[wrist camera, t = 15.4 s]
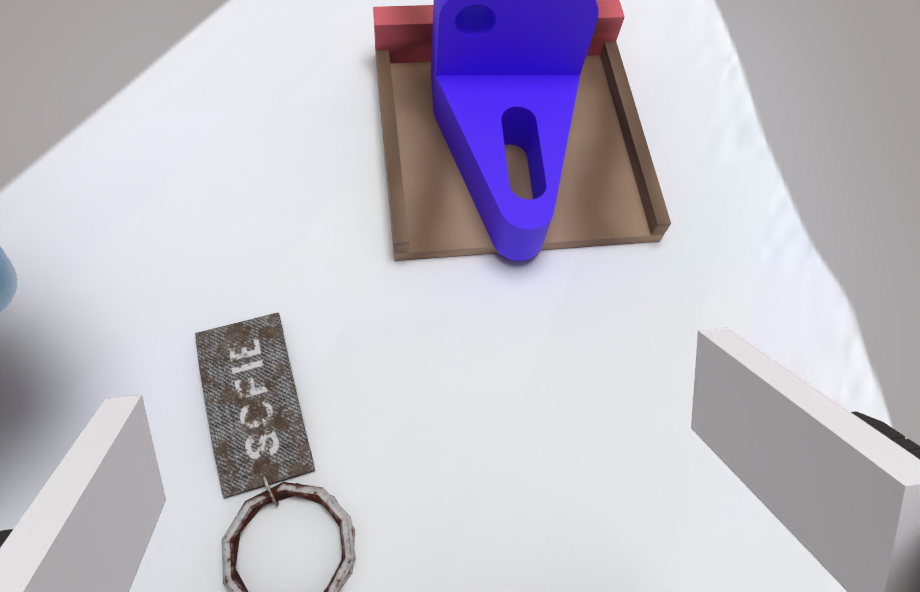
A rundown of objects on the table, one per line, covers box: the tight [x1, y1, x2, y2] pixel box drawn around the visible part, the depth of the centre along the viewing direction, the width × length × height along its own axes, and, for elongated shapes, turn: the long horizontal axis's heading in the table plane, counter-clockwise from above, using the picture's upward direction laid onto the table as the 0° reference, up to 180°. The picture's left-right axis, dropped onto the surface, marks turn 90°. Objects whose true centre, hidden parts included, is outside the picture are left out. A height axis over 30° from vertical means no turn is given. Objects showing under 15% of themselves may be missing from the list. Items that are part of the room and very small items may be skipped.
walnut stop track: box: [373, 0, 671, 261], centre depth 52 cm, size 20×20×5 cm
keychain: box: [195, 313, 355, 592], centre depth 42 cm, size 8×19×2 cm, turn 18°
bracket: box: [431, 0, 599, 261], centre depth 47 cm, size 18×11×12 cm, turn 4°
